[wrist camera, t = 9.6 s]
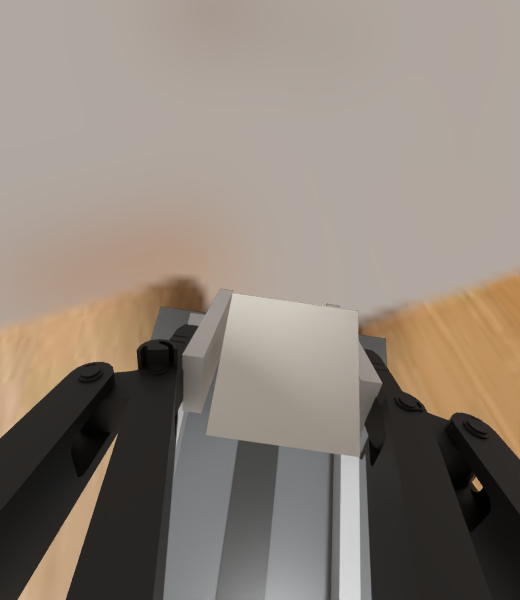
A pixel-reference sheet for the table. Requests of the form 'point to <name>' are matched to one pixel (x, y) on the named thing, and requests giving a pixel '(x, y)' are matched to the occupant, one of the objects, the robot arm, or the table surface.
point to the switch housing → (263, 511)
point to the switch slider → (288, 376)
